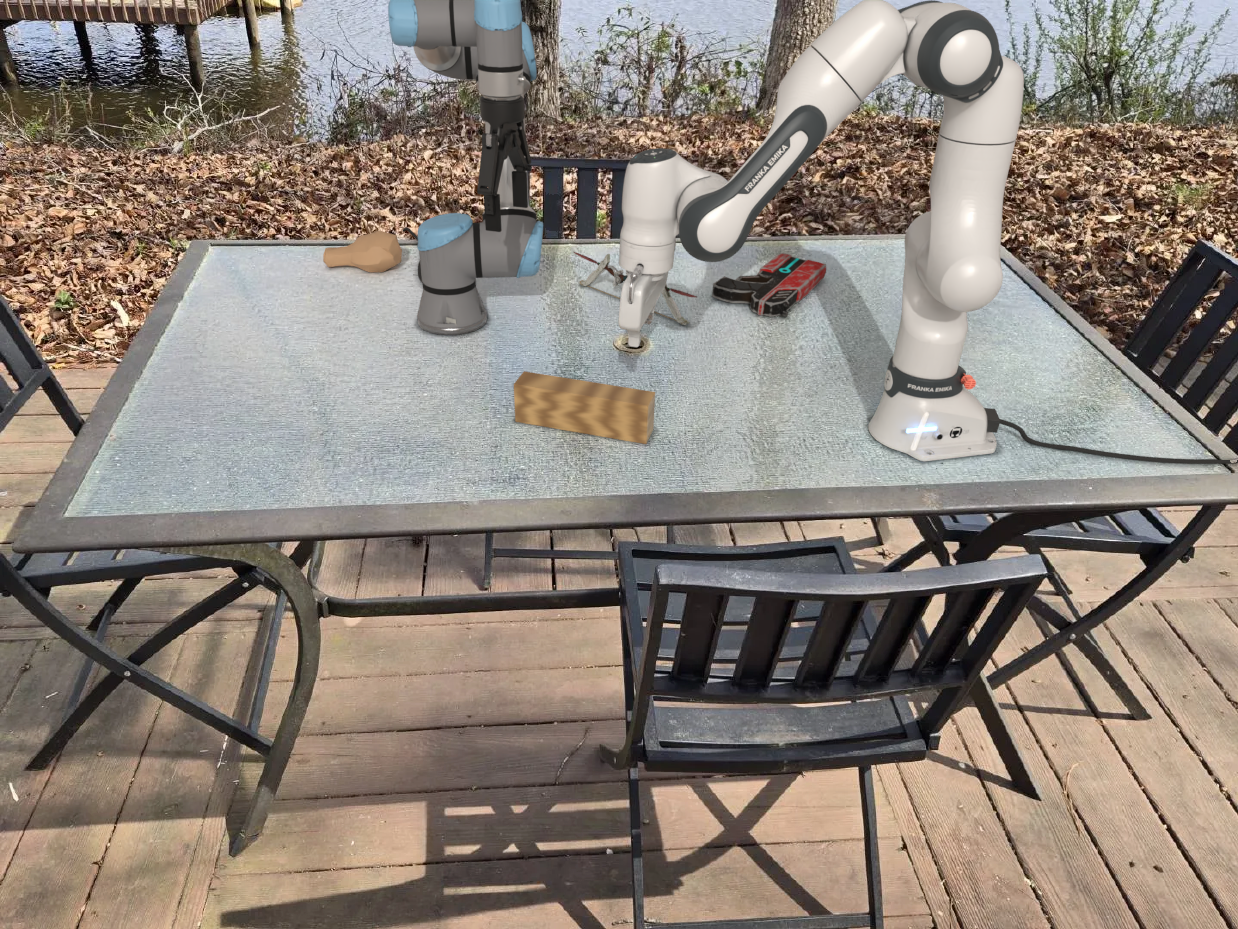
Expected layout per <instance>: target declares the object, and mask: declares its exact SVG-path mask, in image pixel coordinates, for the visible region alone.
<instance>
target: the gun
mask: <svg viewBox="0 0 1238 929" xmlns="http://www.w3.org/2000/svg"><path fill="white" fill-rule="evenodd" d="M826 273H827V264H826V263H823V262H820V261H816V260H812V259H802V258H799V257H795V256H793V255H792V254H791V253H784V252H780V253H778V254H777V255H775V256H774V257H773V258H771V259H770V260H768V261H767V262H766V263H765V264H763V265H762V266H761V267H760V269H759V271H758V273H757V274H756V275H753V274H752V275H751V274H750V275H740V276H738V277H737V278H735V279H734V278H731V277H727V276H722V277H720V279H717V281H715V282H713V283H712V291H711V297H713V298H714V299H716V300H719V301H723V302H727V303H730V304H750V305H749V308H750V310H751V312H753V313H755V314H757V315H758V316H760V317H761V316H765V317H770V318H771V317H777V316H780V317H784V318H787V317H788V315H789V311H788V310H790V309H791V308H792V307H793V306H794V305H795V304H798V303H799V302H801V301H802V300H803V299H804V298H805V297H807V296H808V295H809V294H810V293H811V292H812V291H813V290H814V289H815V287H817V285H818V284H820V283H821V282H822V280H823V279H824V278H825V276H826Z"/></svg>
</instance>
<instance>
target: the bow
mask: <svg viewBox="0 0 1238 929" xmlns="http://www.w3.org/2000/svg"><path fill="white" fill-rule="evenodd" d="M573 254H574V255H577V256H578V257H580V258H582V259H584V260H586V261H588V262H590V263H593V264H596V265H597V268H595V270H593V271H592V272H591V273H590V274H589V275H588V276H587V278H586V280H583V279H582V280H579V281H578V284H579V285H580V286H583V287H589V288H591V289H593V290H596V291H599V292H600V293H604V294H606V295H609V296H612V297H614V298H617V299H619V300H620V298H621V297H618V296H616V295H613V294H611V293H609V292H606V291H604V290H601V289H598V288H596V287H593V286H590V285H591V284H594V283H595V281H596V280H597V279H598V278H599V277H600V276H601V275H602V274H603V273H604V272H606V271H607V272H608V273H609V274H610V275H611V276H612V277H613V282H612V287H613V288H616V287H619V285H621V284H623V283H624V281H625V280H626V278H627V277H628V276H627V275H626V274H624V269H620V270H618V269H617V268H616V267H615V266H614V265H612V264H611V265H610V262H611V254H610V253H607V254H605V255H604V258H603V259H602V260H601V261H600V262H598V261H596V260H595V259H593V258H591V257H589V256H588V255H587V256H586V255H584V254H582V253H579V252H576V251H573ZM670 292H672V293H674V294H678V295H680V296H684V297H688V298H698V296H697V295H693V294H692V293H689V292H685V291H683V290H681V289H677V288H672V287H671V288H670V287H668V285H667V284H666V285H665V288H664V290H663V291H662V293H661V295H662V297H663V298H664V301H665V303H666V305H667V307H668V309H669V311H670V313H671V315H672V316H673V318H672V317H670V316H667V315H664V314H662V313H660V312H657V311H654V314H657V315H659V316H662V317H665V318H667V319H670V320H672V321H675V322H677V323H678V324H680V325H682V326H687V325H688V324H690V321H689V320H687V318H685V317H683V316H682V315H681V312H680V309H679V307H678V305H677V303H676V302H675V300H674V298H673V297H672V295H671V293H670Z"/></svg>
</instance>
